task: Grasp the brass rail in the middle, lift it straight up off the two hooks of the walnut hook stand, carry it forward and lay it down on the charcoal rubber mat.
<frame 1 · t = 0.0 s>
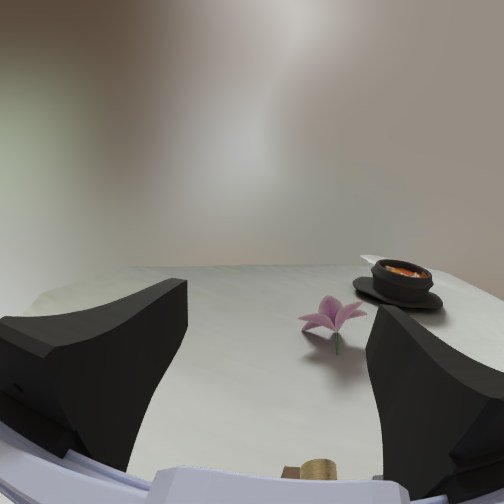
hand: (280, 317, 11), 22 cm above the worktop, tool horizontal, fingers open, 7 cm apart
lily: (328, 342, 50), on the worktop
casserole: (396, 299, 72), on the worktop
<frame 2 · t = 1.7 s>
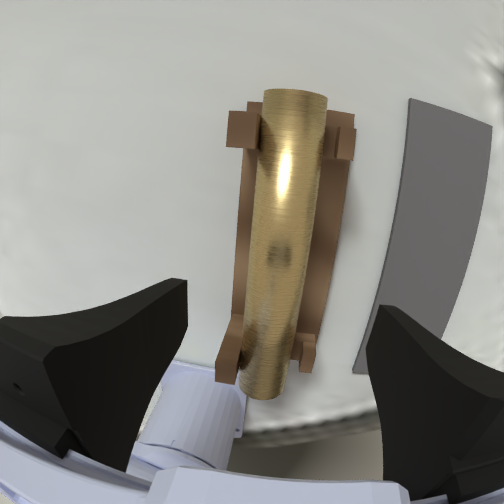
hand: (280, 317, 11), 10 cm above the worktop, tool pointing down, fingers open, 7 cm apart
mat: (429, 257, 19), on the worktop
hook stand: (287, 238, 20), on the worktop
rail: (277, 264, 16), point 5 cm above the worktop, tilted 14°, touching hook stand
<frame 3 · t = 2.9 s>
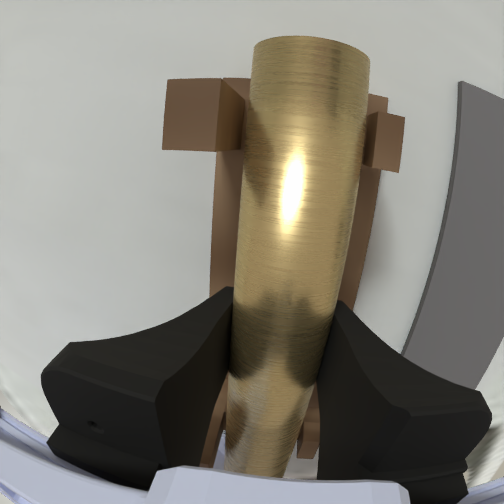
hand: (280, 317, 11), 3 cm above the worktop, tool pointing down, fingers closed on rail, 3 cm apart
mat: (473, 300, 13), on the worktop
hook stand: (284, 280, 14), on the worktop
rail: (277, 343, 10), point 5 cm above the worktop, touching gripper, hook stand
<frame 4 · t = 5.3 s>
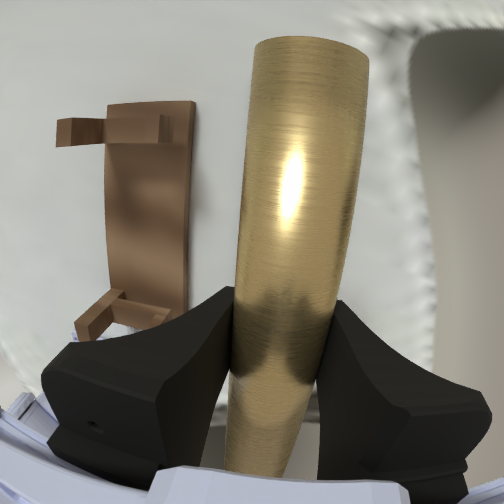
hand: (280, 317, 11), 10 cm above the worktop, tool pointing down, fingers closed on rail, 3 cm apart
hook stand: (147, 219, 22), on the worktop
rail: (278, 340, 10), point 12 cm above the worktop, touching gripper
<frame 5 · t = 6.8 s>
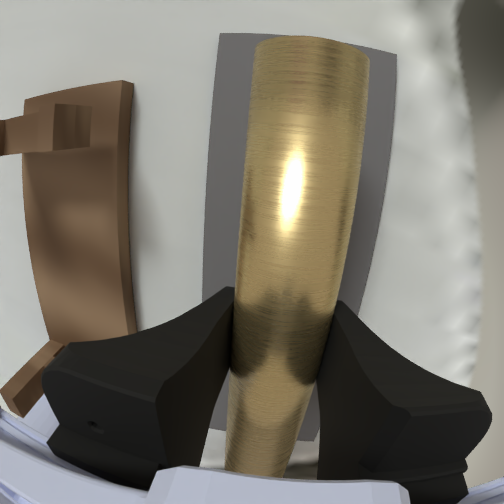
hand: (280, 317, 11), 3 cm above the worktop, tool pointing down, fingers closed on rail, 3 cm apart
mat: (283, 287, 13), on the worktop
hook stand: (80, 256, 14), on the worktop
rail: (278, 340, 10), point 4 cm above the worktop, touching gripper
when the fingers open (2 cm above the worktop, at t = 7.7 s): rail drops 1 cm, resting on mat.
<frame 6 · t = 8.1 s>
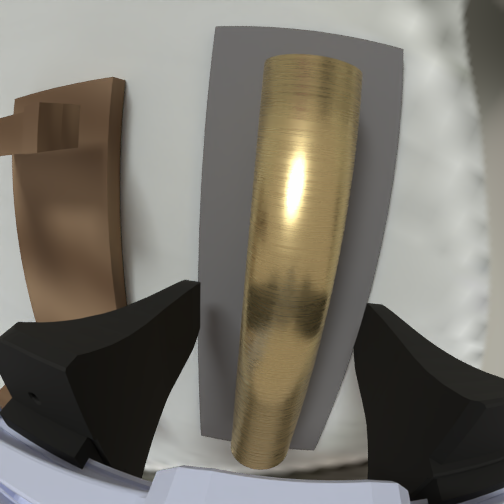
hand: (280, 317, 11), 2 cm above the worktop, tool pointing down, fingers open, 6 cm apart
mat: (282, 294, 13), on the worktop
hook stand: (72, 261, 14), on the worktop
rail: (283, 318, 11), point 2 cm above the worktop, tilted 5°, touching mat
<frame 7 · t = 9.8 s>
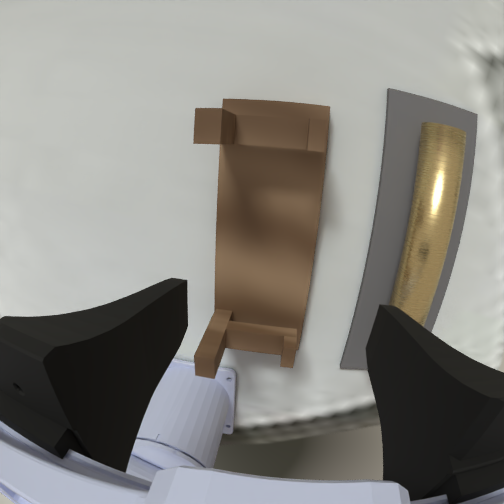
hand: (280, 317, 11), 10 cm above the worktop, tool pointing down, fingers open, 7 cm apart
mat: (414, 249, 19), on the worktop
hook stand: (266, 232, 20), on the worktop
rail: (422, 258, 18), point 2 cm above the worktop, touching mat
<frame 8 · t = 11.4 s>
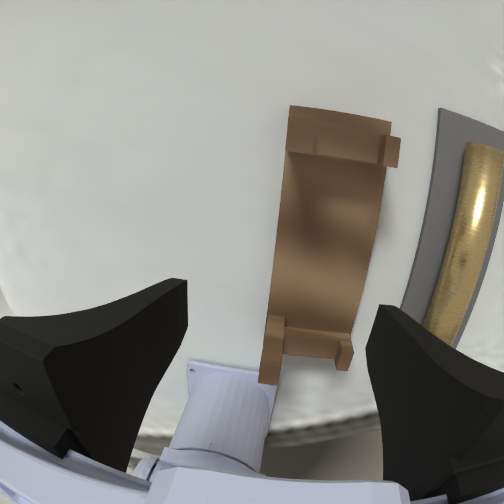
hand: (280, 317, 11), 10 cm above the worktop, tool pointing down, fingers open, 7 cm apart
mat: (453, 258, 20), on the worktop
hook stand: (323, 240, 20), on the worktop
rail: (461, 267, 18), point 2 cm above the worktop, tilted 10°, touching mat
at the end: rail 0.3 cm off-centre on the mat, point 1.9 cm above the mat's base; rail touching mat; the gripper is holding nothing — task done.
